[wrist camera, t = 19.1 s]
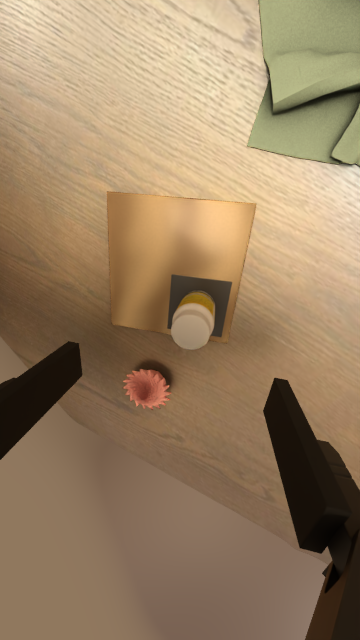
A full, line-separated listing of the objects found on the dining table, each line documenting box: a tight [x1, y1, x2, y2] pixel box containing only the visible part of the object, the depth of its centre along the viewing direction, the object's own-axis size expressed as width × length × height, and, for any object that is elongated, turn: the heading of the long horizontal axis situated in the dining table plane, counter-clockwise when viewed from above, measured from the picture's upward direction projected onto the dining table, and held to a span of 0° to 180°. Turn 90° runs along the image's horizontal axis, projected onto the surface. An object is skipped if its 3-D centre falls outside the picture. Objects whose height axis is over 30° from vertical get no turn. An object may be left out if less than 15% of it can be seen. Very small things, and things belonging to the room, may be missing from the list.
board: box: [107, 192, 256, 343], centre depth 28 cm, size 18×18×1 cm
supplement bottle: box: [171, 291, 215, 350], centre depth 24 cm, size 5×5×8 cm
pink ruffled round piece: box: [123, 369, 171, 410], centre depth 33 cm, size 8×8×6 cm
